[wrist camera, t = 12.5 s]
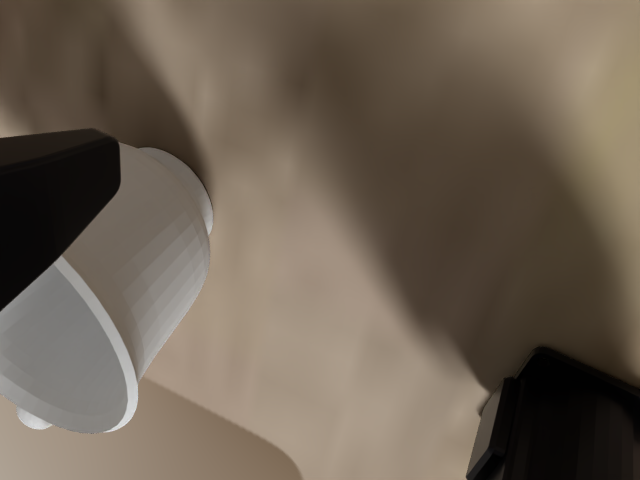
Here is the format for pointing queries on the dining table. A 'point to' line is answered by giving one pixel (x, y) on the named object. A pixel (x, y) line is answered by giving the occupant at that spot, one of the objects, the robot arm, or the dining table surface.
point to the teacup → (108, 300)
